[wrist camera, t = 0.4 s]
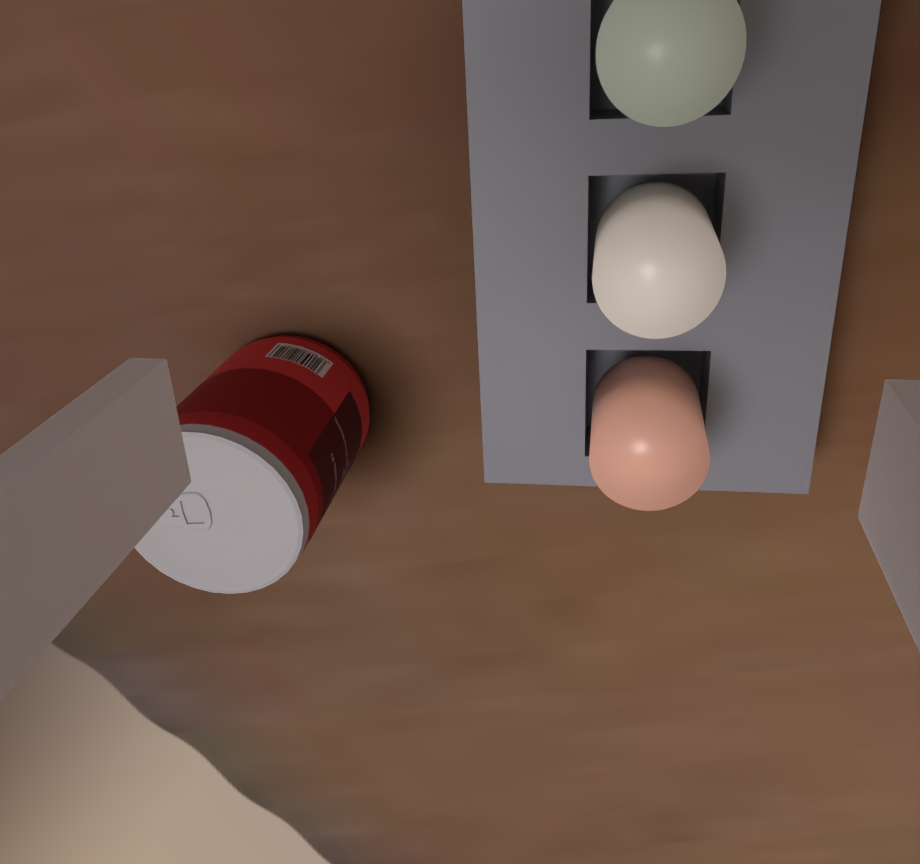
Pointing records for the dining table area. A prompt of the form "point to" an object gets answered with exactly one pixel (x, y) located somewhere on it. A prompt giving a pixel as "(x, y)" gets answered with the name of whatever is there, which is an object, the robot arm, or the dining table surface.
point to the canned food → (259, 464)
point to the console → (704, 175)
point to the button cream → (657, 261)
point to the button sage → (670, 57)
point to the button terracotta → (648, 434)
